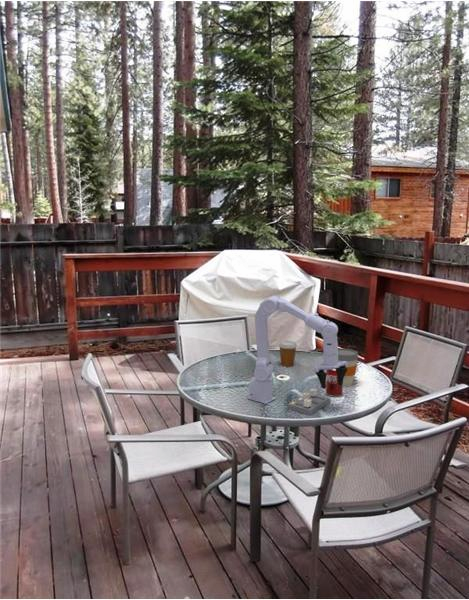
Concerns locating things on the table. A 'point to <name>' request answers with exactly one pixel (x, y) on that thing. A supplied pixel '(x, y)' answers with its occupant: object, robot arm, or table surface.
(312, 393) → the rocker switch
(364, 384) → the table surface
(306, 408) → the switch panel
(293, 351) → the glass of beer
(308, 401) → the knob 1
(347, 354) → the reusable coffee cup
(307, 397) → the switch
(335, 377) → the soda can
